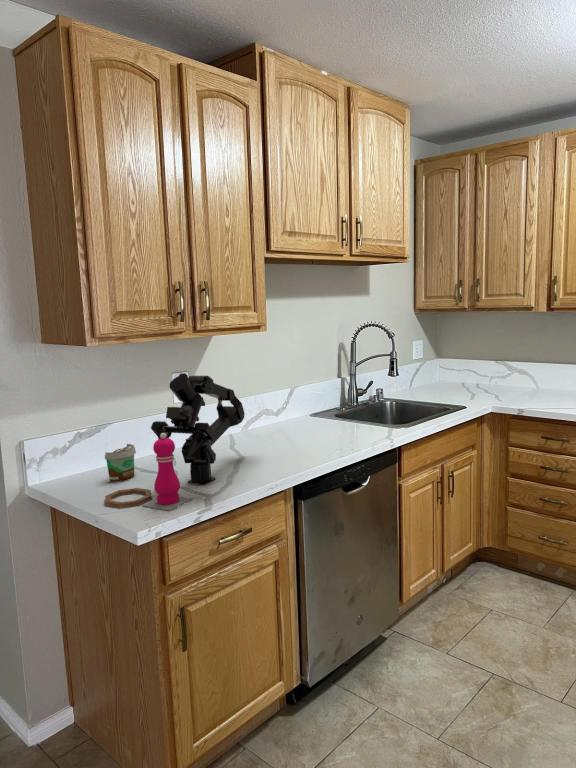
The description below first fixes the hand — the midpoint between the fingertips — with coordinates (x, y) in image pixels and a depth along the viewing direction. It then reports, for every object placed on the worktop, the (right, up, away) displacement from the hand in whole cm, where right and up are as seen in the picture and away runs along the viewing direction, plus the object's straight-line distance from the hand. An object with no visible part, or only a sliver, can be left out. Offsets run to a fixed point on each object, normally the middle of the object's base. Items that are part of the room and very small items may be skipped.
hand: (173, 455), depth 172 cm
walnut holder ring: (-13, -13, +2) cm, 19 cm away
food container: (-20, -10, +23) cm, 32 cm away
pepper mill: (-1, -13, -3) cm, 13 cm away
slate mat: (-1, -13, -3) cm, 14 cm away
